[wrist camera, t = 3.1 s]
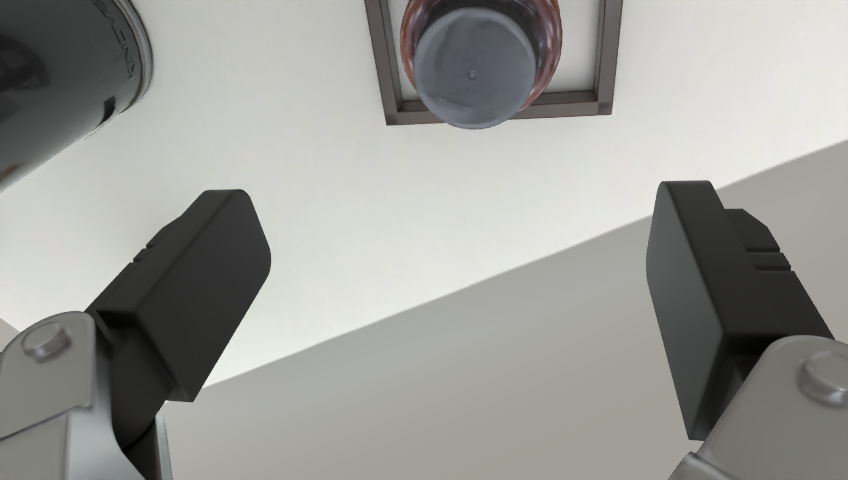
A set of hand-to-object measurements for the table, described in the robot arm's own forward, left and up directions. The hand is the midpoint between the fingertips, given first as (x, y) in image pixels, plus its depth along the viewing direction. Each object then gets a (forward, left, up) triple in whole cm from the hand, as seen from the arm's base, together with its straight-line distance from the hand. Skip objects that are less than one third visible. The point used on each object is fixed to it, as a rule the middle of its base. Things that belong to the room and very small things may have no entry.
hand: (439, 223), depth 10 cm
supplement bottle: (0, 0, -20) cm, 20 cm away
